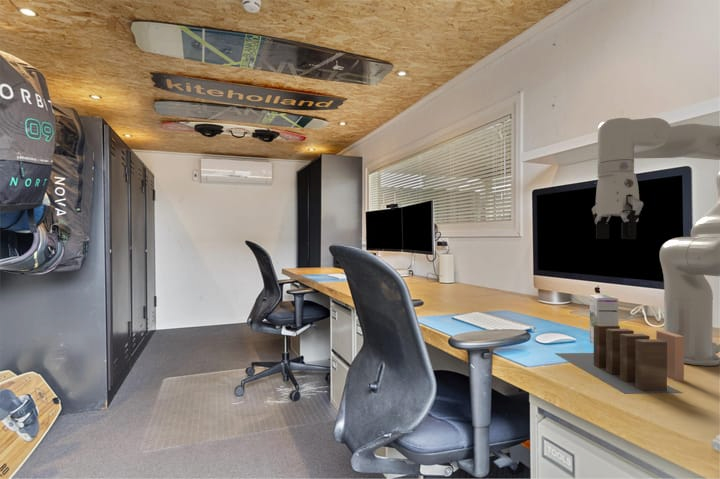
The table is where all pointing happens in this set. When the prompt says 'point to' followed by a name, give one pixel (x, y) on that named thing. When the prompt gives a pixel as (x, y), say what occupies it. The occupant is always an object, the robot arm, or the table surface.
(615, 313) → the syrup box
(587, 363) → the mat
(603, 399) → the table surface
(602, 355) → the domino
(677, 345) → the domino
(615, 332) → the domino
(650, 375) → the domino
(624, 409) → the table surface
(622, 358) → the domino
